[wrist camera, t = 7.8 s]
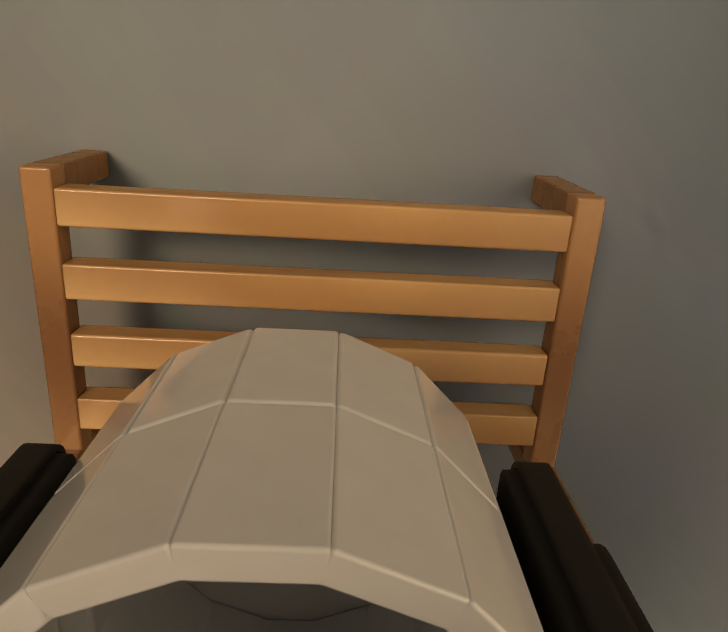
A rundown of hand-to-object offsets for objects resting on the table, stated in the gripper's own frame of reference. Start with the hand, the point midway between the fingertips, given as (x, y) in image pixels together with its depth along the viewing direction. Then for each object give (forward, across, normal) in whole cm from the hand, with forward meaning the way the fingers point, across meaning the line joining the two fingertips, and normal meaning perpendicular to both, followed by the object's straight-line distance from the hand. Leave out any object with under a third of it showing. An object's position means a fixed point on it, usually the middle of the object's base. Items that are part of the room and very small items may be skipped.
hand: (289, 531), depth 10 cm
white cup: (+1, 0, 0) cm, 1 cm away
